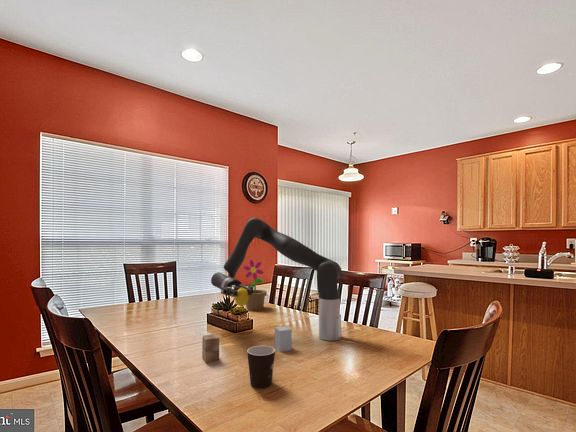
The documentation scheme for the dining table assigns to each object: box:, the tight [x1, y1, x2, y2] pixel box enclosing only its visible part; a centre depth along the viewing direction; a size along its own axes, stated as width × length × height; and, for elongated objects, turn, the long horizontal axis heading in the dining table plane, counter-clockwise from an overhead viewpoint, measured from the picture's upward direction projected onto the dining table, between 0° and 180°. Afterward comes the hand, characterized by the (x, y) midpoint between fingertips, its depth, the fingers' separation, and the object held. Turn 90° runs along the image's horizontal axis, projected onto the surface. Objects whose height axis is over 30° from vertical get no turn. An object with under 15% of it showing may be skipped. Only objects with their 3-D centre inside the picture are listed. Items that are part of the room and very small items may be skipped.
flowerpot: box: [243, 259, 267, 312], centre depth 199 cm, size 14×14×30 cm
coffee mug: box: [246, 344, 276, 390], centre depth 102 cm, size 12×9×10 cm
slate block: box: [274, 325, 293, 353], centre depth 130 cm, size 5×5×8 cm
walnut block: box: [201, 333, 220, 363], centre depth 120 cm, size 5×5×8 cm
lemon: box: [234, 287, 249, 308], centre depth 134 cm, size 6×6×8 cm
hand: (243, 293), depth 132 cm, fingers closed on lemon, 5 cm apart
